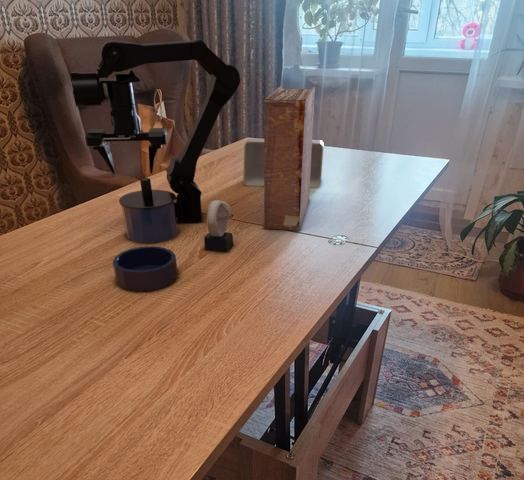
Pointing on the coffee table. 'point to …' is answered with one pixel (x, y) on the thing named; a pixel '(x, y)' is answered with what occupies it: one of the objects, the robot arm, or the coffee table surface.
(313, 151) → the white rounded tray
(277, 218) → the book
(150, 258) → the pan
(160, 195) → the lid
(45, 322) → the coffee table surface
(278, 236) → the coffee table surface
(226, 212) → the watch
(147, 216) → the pot
